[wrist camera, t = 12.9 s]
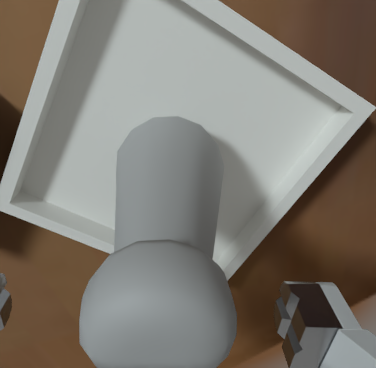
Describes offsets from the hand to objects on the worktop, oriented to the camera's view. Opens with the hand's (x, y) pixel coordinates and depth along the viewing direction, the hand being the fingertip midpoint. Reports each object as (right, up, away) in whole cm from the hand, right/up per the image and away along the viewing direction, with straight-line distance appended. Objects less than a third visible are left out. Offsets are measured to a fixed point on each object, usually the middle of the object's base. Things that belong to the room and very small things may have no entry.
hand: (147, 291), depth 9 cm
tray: (0, +6, +11) cm, 12 cm away
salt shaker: (0, +5, +10) cm, 11 cm away
